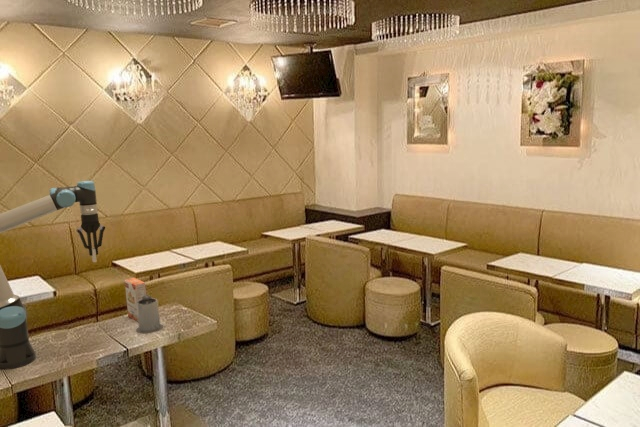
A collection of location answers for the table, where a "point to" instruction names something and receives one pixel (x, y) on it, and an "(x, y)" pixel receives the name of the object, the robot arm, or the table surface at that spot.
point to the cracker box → (134, 295)
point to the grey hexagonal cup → (148, 315)
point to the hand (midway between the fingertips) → (94, 261)
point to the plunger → (146, 298)
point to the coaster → (149, 332)
